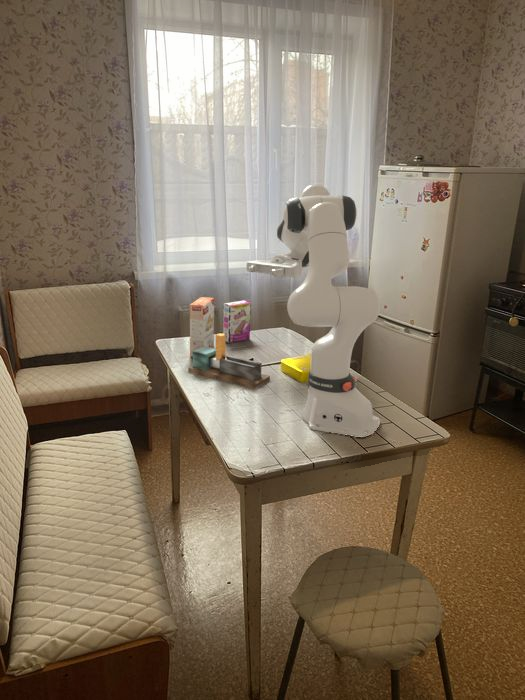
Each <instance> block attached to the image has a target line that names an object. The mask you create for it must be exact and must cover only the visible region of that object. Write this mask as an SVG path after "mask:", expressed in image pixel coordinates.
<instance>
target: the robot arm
mask: <svg viewBox="0 0 525 700" xmlns="http://www.w3.org/2000/svg"><path fill="white" fill-rule="evenodd" d="M282 214H283V216H282V217H283V218H282V221H281V222H280V224H279V226H278V227H277V229H276V237H277V239H278V240H279V241H281V242H282V243H283V244H284V245H285V246H286V247H287V248H288V250H290V251H289V252H288V251H287V252H286V253H285V252H283V253H281V254H280V253H279V254H276V255H273V256H272V257H271V259H270V260H262V259H255V260H248V261H246V266H245V267H246V271H247V272H249V273H257V274H258V273H259V274H264V275H270V276H271V275H272V276H273V277H274V278H276V279H281V280H282V279H284V278H285V279H287V278H295V279H298V278H299V279H300V278H301V277H302V273H303V271H305V270H306V269H307V268H308V270H307V274H306V276H305V278H304V280H303V281H302V283H301V285H299V286H298V287H297V288H296V289H294V290H293V292H292V293H291V294H290V295H289V297H288V299H287V306H286V307H287V313H288V317H289V318H290V320H291V321H292V322H293V323H294V324H295V325H299V326H304V327H310V328H323V327H325V328H327V327H328V328H329V327H332V328H331V329H330V330H329V332H328V333H327V334H326V335H324V336H322V337H320V338H319V339H317V340H316V341H315V342H314V344H313V345H312V346H311V353H310V354H311V368H310V370H309V376H308V382H307V387H308V391H307V398H306V401H305V405H304V409H303V410H302V411H303V412H302V416H301V417H302V419H303V420H304V421H305V422H306V423H307V425H308V427H309V429H311V430H314V431H319V432H325V433H329V432H331V433H330V434H334V433H339V434H338V435H340V434H347V435H353V436H366V435H368V434H371V433H372V432H373V431H375V430H376V429H377V427H378V426H379V425H380V426H381V420H380V418H379V417H378V416H376V415H374V411H373V403H371V401H370V400H369V399H368V398H367V397H366V396H364V394H362V393H361V392H360V390H358V389H357V388H356V386H355V383H356V382H357V381H358V376H355V377H353V376H352V375H351V372H350V367H351V359H352V353H353V349H354V346H355V343H356V341H357V340H358V338H359V336H360V335H361V334H362V333H363V331H364V330H366V328H367V327H369V326H370V325H372V324H373V323H374V322H375V321H376V320H377V318H378V317H379V314H380V312H381V307H382V306H381V305H382V304H381V301H380V297H379V295H378V293H377V292H376V291H375V290H374V289H372V288H368V287H363V286H357V285H355V286H353V285H352V286H350V285H349V286H345V285H344V286H335V285H333V284H332V279H334V278H336V277H338V276H340V275H341V274H343V273H344V272H345V271H346V270H347V269H348V267H349V265H350V252H349V244H348V234H347V231H350V230H352V228H354V226H355V223H356V220H357V216H358V209H357V205H356V202H355V200H354V199H353V198H352V197H350V196H348V195H347V196H346V195H331V194H330V192H329V190H328V189H327V188H326V187H325V186H323V185H321V184H311V185H308V186H306V187H305V188H304V189H303V191H302V192H301V194H300V196H296V197H291V198H289V199H288V200H287V201H286V202H285V206H284V209H283V213H282ZM375 421H377V422H375ZM365 432H367V433H365Z"/></svg>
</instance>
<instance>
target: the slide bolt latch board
mask: <svg viewBox="0 0 525 700" xmlns="http://www.w3.org/2000/svg"><path fill="white" fill-rule="evenodd" d="M212 355H213V356H216V347H215V348H210V347H206V346H204V347H202V348H199V349H197V350H194V351H193V357H192V366H191V365H190V366H189V367H188V368H187V372H188V373H190V374H191V373H193V374H196V375H199V376H204V377H207V378H211V379H214V380H218V381H222V382H225V383H230V384H234V385H236V386H237V385H238V386H241V387H245V388H249V389H251V390H256V389H257V388H259V387H260V386H262V385H264V384H266V383H267V382H269V381H270V380H271V376H270V375H267V374H264V373H262V362H258V361H254V360H250V359H246V358H241V357H236V356H233V355H229V354H228V355H225V359H222V358H221V359H220V369H219V368H215V367H211V366H209V357H210V356H212ZM226 359H230V360H232V361H230V360H226Z"/></svg>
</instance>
